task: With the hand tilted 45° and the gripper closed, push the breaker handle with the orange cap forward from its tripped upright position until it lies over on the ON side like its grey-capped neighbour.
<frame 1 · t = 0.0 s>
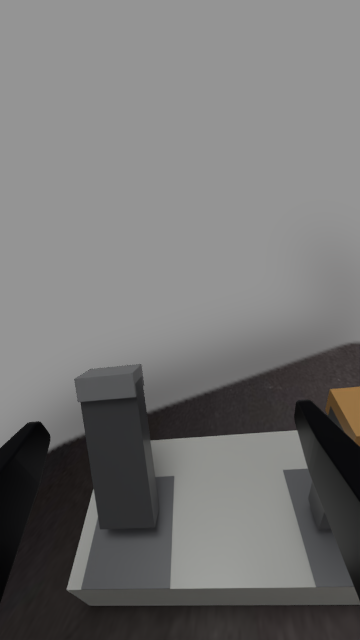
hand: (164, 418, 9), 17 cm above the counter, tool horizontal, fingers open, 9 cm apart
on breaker: (120, 446, 17), point 9 cm above the counter, hinge at 30.0°
grey mounting base: (232, 520, 21), on the counter
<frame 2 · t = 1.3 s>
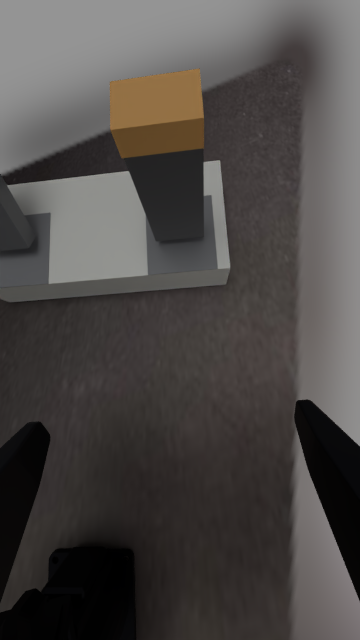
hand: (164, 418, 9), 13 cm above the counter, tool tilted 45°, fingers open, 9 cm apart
tripped breaker: (171, 184, 15), point 10 cm above the counter, hinge at 0.0°
grey mounting base: (114, 247, 25), on the counter
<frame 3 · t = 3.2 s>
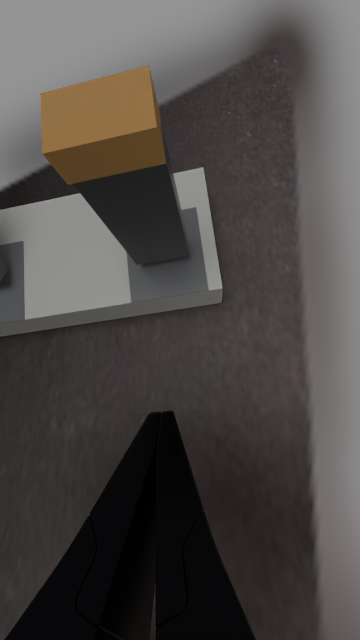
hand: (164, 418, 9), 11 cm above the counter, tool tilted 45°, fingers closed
tripped breaker: (140, 204, 13), point 10 cm above the counter, hinge at 0.0°
grey mounting base: (97, 270, 23), on the counter
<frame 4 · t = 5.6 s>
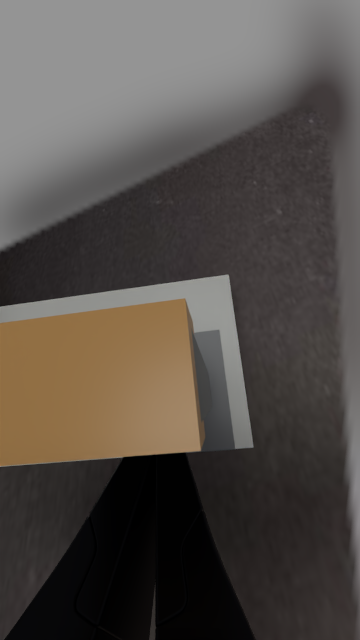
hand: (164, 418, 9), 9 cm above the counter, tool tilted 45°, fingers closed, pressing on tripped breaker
tripped breaker: (152, 389, 9), point 10 cm above the counter, hinge at 6.0°, touching gripper
grey mounting base: (91, 374, 19), on the counter
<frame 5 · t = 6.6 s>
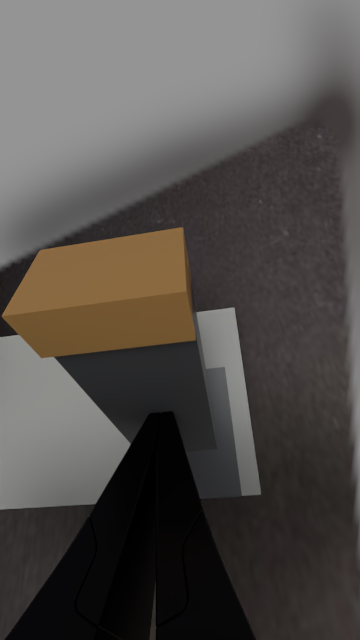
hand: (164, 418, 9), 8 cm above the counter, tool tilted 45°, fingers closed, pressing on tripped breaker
tripped breaker: (154, 382, 9), point 9 cm above the counter, hinge at 32.5°, touching gripper
grey mounting base: (90, 403, 18), on the counter
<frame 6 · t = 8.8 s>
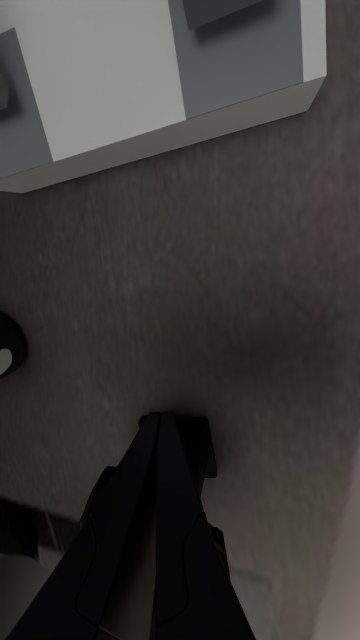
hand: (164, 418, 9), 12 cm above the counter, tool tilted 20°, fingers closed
beverage can: (1, 338, 27), on the counter
grey mounting base: (126, 76, 16), on the counter
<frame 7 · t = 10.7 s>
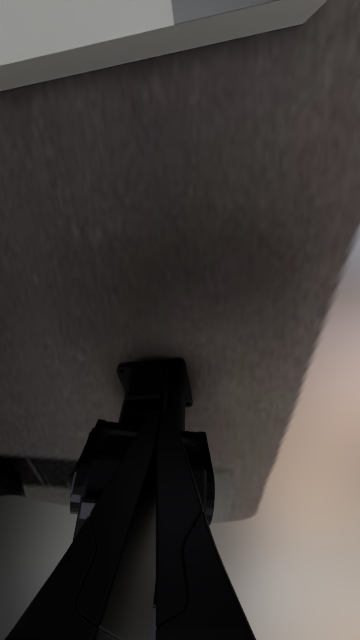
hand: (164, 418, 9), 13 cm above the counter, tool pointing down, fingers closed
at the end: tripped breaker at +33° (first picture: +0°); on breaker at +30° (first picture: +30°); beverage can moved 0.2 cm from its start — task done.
